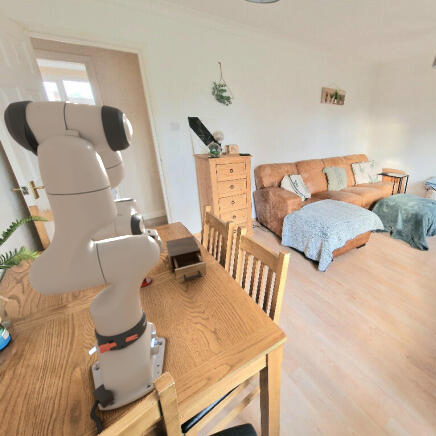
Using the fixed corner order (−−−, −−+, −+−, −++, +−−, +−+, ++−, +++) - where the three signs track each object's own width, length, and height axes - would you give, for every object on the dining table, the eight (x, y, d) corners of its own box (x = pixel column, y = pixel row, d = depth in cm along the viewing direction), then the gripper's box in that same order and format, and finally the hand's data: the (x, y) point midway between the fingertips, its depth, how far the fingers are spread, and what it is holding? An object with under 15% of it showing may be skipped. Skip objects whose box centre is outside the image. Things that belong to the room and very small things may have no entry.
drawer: (208, 280, 106) (207, 267, 104) (178, 289, 100) (176, 275, 98) (198, 259, 122) (197, 247, 119) (172, 265, 115) (170, 253, 113)
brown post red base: (151, 284, 104) (146, 262, 99) (136, 288, 101) (130, 266, 96) (150, 277, 108) (146, 256, 104) (136, 281, 105) (130, 259, 101)
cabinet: (202, 264, 119) (200, 249, 116) (172, 272, 112) (169, 256, 109) (195, 249, 132) (193, 235, 129) (167, 255, 125) (165, 241, 122)
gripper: (99, 246, 88) (109, 277, 93) (161, 234, 98) (167, 263, 103) (101, 239, 93) (110, 269, 98) (160, 229, 103) (165, 256, 108)
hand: (139, 266), depth 101 cm, fingers open, 8 cm apart
